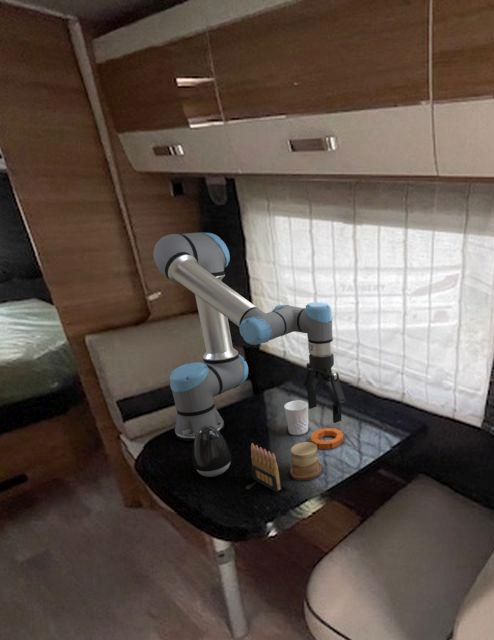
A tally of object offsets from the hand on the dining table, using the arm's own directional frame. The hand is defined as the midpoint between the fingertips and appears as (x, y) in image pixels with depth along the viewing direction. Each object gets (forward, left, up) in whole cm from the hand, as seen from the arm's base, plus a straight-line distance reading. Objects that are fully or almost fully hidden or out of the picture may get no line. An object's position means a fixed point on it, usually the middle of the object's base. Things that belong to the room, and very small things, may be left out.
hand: (324, 414), depth 137 cm
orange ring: (0, 0, -10) cm, 10 cm away
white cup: (-13, -3, -10) cm, 16 cm away
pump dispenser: (-9, -34, -10) cm, 36 cm away
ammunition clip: (+8, -26, -10) cm, 29 cm away
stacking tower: (+10, -15, -10) cm, 21 cm away
